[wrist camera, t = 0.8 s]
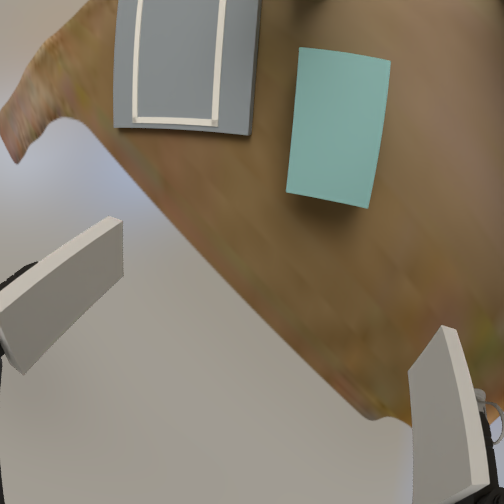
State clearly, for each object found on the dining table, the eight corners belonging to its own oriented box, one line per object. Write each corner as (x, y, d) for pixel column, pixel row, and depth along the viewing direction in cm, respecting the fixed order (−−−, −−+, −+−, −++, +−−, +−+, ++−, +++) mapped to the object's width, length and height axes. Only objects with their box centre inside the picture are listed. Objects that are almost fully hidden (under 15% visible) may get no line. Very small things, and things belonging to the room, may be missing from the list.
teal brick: (384, 67, 27) (390, 61, 21) (366, 187, 34) (367, 208, 28) (310, 56, 29) (299, 47, 23) (299, 174, 36) (286, 192, 30)
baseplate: (263, -23, 25) (260, -27, 24) (251, 134, 35) (247, 135, 34) (124, -3, 29) (118, -4, 28) (119, 126, 40) (112, 127, 38)
